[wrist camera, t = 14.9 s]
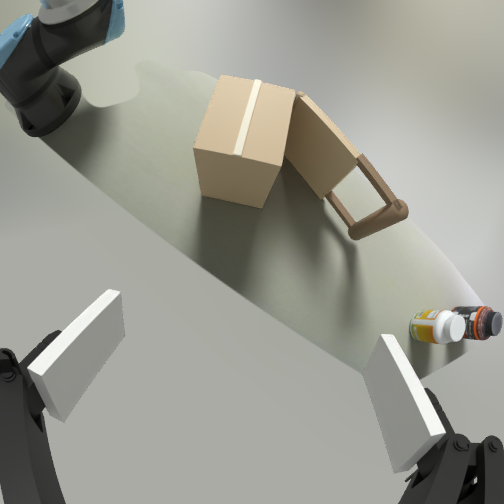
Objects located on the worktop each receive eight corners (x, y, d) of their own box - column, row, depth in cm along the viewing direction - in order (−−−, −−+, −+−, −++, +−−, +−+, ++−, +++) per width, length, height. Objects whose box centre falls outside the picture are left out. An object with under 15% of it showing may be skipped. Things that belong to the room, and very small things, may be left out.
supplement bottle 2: (441, 319, 41) (486, 321, 30) (458, 300, 42) (500, 298, 31) (451, 343, 41) (493, 348, 29) (466, 324, 42) (507, 325, 30)
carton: (219, 134, 42) (221, 73, 28) (274, 146, 42) (295, 88, 28) (201, 195, 40) (192, 146, 26) (261, 208, 40) (282, 164, 26)
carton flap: (272, 147, 42) (291, 92, 28) (283, 140, 42) (306, 86, 29) (349, 245, 41) (400, 223, 27) (359, 236, 41) (411, 212, 28)
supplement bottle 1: (424, 344, 40) (462, 350, 30) (404, 335, 40) (442, 341, 30) (433, 315, 41) (471, 316, 31) (414, 305, 41) (453, 305, 31)
